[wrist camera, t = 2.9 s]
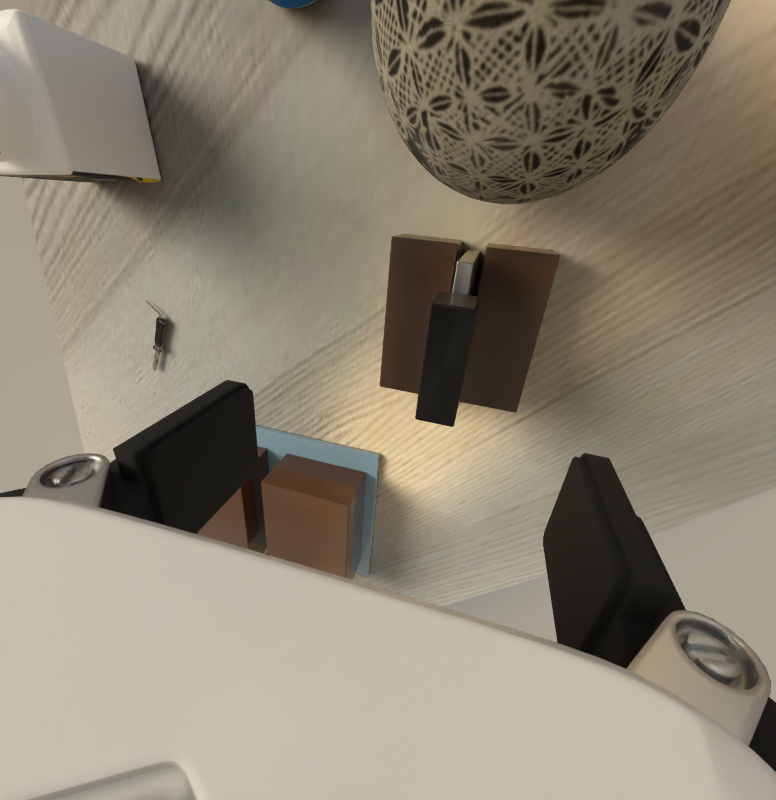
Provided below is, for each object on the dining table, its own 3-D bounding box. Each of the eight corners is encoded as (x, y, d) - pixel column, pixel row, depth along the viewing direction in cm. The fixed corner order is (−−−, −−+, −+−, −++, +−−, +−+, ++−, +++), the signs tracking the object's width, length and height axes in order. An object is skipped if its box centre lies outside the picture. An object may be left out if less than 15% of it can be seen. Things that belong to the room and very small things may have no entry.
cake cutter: (489, 252, 24) (483, 273, 15) (464, 379, 28) (448, 452, 20) (458, 248, 24) (435, 267, 16) (438, 374, 29) (411, 443, 20)
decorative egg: (702, 64, 18) (1207, -310, 5) (505, 249, 24) (509, 292, 11) (547, -156, 17) (717, -1500, 4) (375, 99, 22) (197, -61, 9)
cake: (380, 453, 33) (362, 489, 29) (369, 573, 41) (353, 616, 36) (187, 409, 37) (146, 434, 33) (209, 526, 45) (178, 559, 40)
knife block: (553, 250, 23) (560, 255, 21) (514, 394, 28) (516, 413, 25) (403, 233, 25) (391, 236, 22) (390, 371, 30) (379, 386, 27)
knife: (138, 357, 36) (162, 375, 36) (134, 359, 36) (159, 376, 36) (146, 298, 33) (173, 317, 33) (142, 299, 32) (169, 318, 32)
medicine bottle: (88, 182, 29) (-137, 166, 19) (53, 64, 26) (-241, -33, 16) (164, 182, 28) (-37, 164, 17) (136, 56, 25) (-129, -57, 14)
